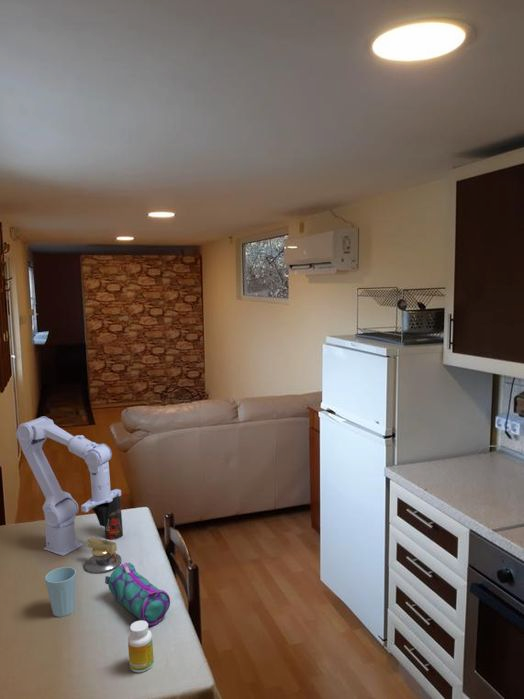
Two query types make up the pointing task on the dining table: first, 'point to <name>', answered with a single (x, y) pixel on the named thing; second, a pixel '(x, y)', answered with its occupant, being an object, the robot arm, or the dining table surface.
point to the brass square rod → (101, 547)
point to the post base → (102, 563)
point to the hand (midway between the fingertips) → (103, 525)
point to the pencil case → (138, 594)
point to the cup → (61, 590)
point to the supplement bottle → (140, 647)
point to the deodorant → (114, 521)
